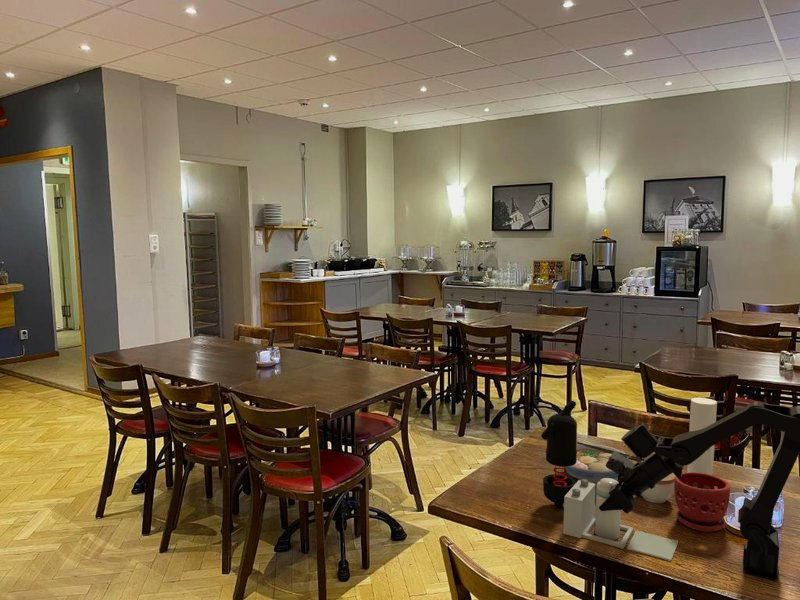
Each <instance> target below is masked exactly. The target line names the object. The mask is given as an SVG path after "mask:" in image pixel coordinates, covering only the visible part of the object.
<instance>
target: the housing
mask: <svg viewBox="0 0 800 600" xmlns="http://www.w3.org/2000/svg"><path fill="white" fill-rule="evenodd" d="M596 486H597V484H594V483H590V482H588V480H585V479H582V480H579V479H577V481H576V484H575V485H574V486H573V487H572V488H571V490H570V491H569V492H568V493H567V494H566V495H565V496H564V504H563V535H568V536H571V537H575V538H577V539H581V538H584V539H587V540H591V541H595V542H597V543H602V544H605V545H608V546H613V547H616V548H620V549H623V550H624V549H625V547H626V545H627V544H628V542H629V540H630V537H631V536H632V535H633V533H634V528H635V527H631V526H629V525H624V524H621V523H620V530H621V531H622V530H623V531H626V532H625V534H624V536H623V538H622V540H621V541H620V542H619V541H615V540H609V539H605V538H602V537H599V536H597V535H594V534H591V533H589V532H590V531H591V530H592V528H593V527H594V526H595V520H596V517H595V516H596Z"/></svg>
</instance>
